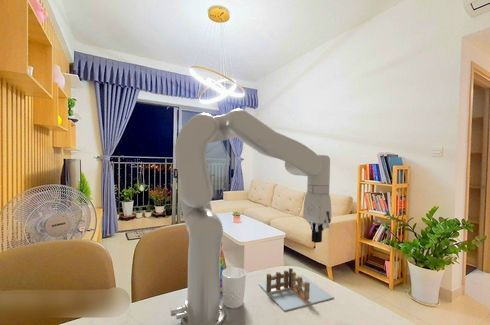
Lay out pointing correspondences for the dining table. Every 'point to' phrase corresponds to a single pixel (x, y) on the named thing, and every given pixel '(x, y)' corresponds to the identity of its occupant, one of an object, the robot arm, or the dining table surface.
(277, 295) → the card
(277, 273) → the fence fixed
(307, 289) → the fence fold
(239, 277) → the white cup
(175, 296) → the dining table surface
